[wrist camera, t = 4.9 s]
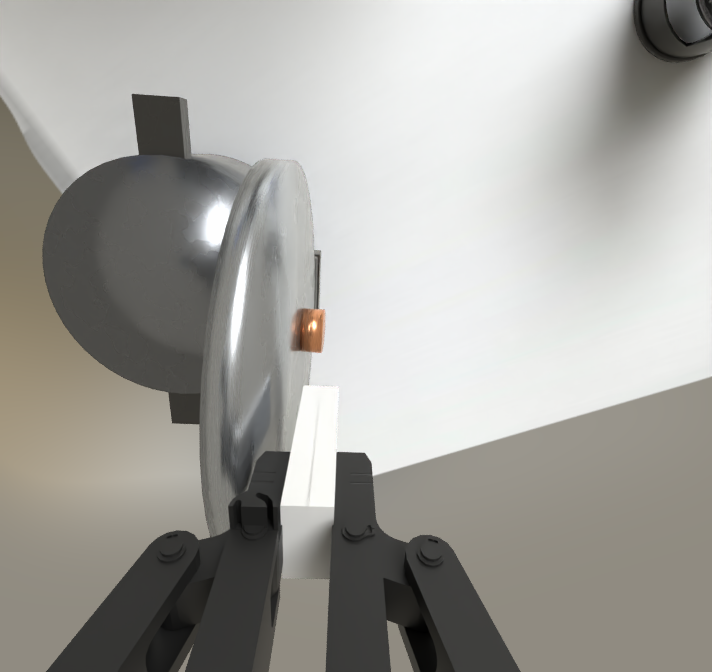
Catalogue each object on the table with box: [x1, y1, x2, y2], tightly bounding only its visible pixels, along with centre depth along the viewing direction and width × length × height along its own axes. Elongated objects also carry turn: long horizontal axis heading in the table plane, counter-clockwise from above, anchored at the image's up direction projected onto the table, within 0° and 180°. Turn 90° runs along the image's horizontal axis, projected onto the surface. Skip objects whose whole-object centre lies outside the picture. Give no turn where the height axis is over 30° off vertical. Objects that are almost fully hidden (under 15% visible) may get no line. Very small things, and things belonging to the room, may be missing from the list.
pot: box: [43, 94, 321, 424], centre depth 37 cm, size 25×20×12 cm
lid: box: [200, 159, 325, 537], centre depth 23 cm, size 19×20×2 cm
